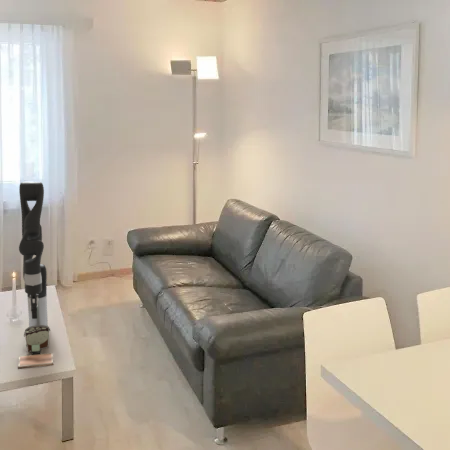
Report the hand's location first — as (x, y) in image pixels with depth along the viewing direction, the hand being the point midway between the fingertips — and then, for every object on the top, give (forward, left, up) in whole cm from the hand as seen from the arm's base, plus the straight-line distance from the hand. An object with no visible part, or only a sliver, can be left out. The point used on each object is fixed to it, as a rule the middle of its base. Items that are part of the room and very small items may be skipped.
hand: (34, 315), depth 270 cm
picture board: (+14, 0, -17) cm, 22 cm away
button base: (+6, 0, -17) cm, 18 cm away
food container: (-1, 0, -17) cm, 17 cm away
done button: (+6, 0, -15) cm, 16 cm away
